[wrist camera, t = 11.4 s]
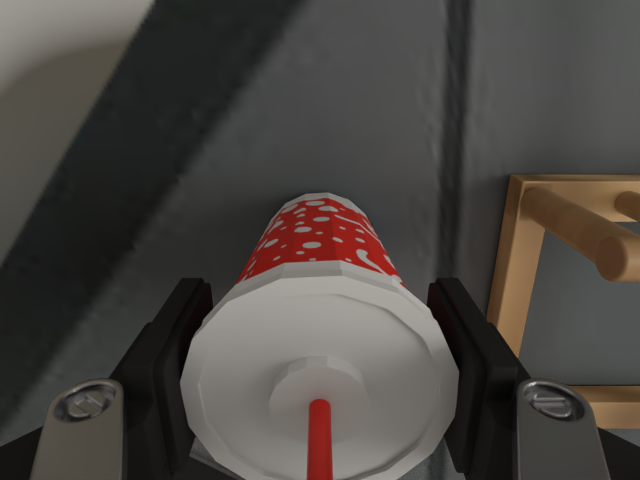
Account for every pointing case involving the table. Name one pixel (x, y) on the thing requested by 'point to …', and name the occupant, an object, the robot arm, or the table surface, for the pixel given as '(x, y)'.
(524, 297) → the cup rack
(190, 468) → the phone
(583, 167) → the table surface
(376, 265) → the beverage cup
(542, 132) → the table surface
